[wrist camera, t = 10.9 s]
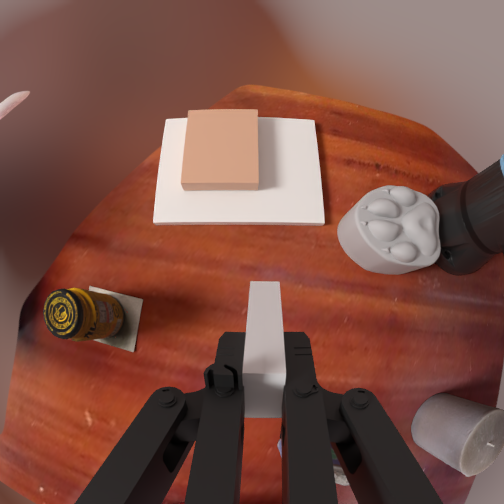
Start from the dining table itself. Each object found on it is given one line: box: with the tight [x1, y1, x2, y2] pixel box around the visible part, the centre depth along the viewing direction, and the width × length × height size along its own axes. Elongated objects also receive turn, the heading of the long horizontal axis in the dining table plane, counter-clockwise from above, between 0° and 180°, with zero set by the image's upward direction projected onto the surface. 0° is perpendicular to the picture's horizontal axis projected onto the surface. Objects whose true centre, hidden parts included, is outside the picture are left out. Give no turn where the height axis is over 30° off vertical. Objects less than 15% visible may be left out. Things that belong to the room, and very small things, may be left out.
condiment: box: [43, 286, 143, 352], centre depth 32 cm, size 7×8×12 cm
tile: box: [181, 109, 259, 191], centre depth 40 cm, size 10×3×12 cm
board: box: [153, 117, 325, 226], centre depth 42 cm, size 23×17×1 cm
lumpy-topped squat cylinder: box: [337, 185, 441, 274], centre depth 37 cm, size 10×13×9 cm
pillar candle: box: [411, 393, 504, 477], centre depth 28 cm, size 10×10×15 cm
